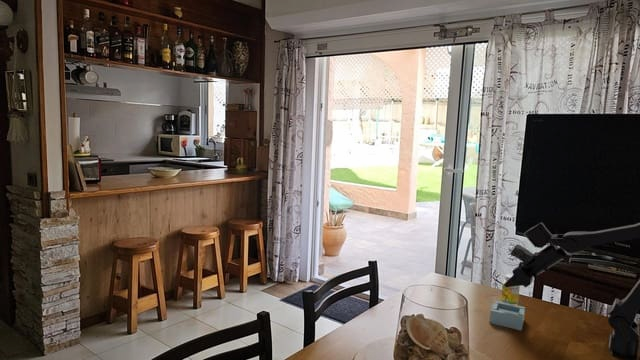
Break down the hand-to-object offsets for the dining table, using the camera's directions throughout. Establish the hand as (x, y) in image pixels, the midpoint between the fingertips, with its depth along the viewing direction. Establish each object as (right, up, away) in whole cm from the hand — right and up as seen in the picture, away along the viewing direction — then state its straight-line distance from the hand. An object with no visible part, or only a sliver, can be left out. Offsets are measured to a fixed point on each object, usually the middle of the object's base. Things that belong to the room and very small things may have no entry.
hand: (506, 283), depth 148 cm
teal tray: (0, -13, +1) cm, 13 cm away
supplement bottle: (+1, -7, 0) cm, 7 cm away
